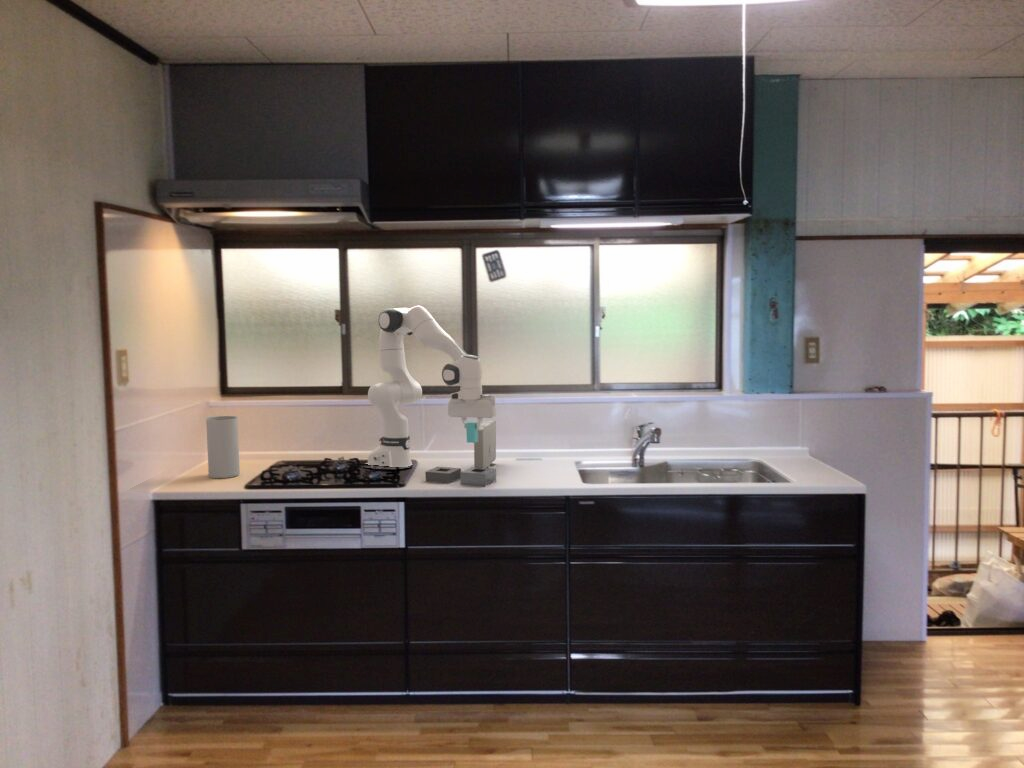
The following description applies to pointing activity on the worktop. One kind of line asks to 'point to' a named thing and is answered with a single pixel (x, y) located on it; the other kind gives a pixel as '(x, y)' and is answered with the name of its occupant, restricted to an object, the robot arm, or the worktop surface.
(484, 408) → the robot arm
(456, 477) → the holster
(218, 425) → the cylinder vase
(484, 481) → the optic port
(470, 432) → the plug
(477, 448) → the network device
